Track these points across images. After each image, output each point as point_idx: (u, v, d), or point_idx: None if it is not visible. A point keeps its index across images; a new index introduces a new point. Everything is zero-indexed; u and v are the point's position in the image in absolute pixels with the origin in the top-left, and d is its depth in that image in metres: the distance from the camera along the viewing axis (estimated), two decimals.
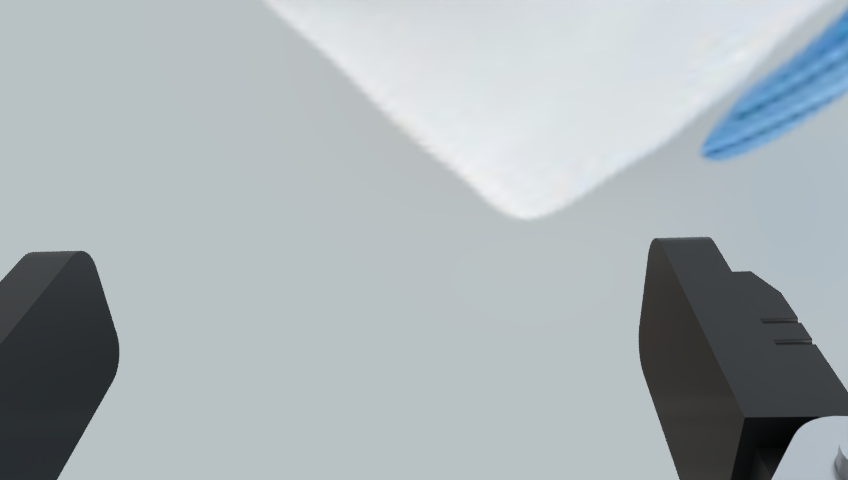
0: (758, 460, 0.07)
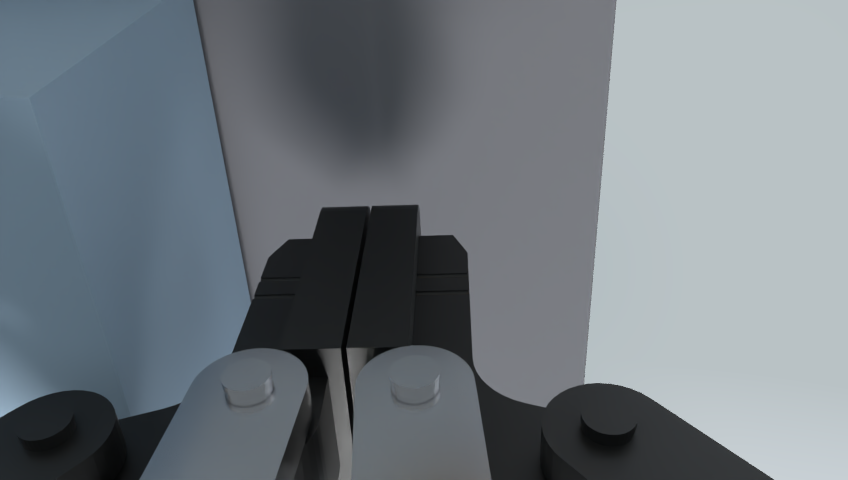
0: None
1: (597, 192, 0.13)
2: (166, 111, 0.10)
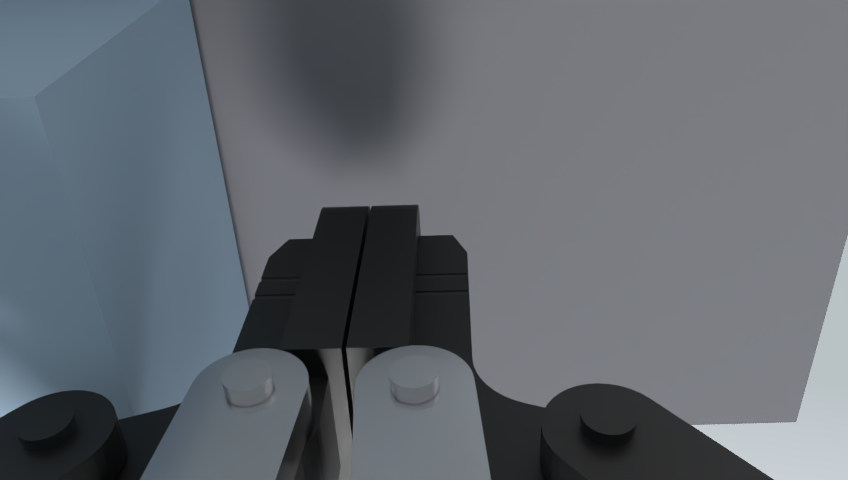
0: None
1: None
2: (165, 111, 0.10)
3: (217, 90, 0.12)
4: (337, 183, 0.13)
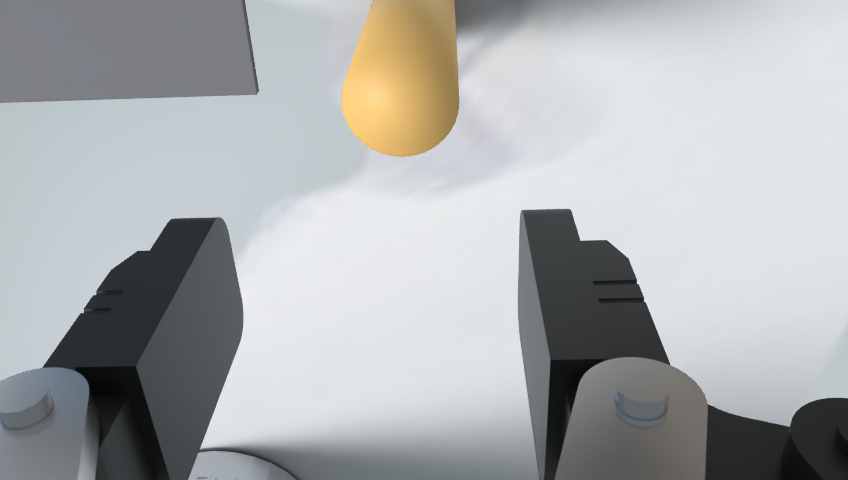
0: (568, 400, 0.08)
1: (114, 97, 0.28)
2: None
3: None
4: None
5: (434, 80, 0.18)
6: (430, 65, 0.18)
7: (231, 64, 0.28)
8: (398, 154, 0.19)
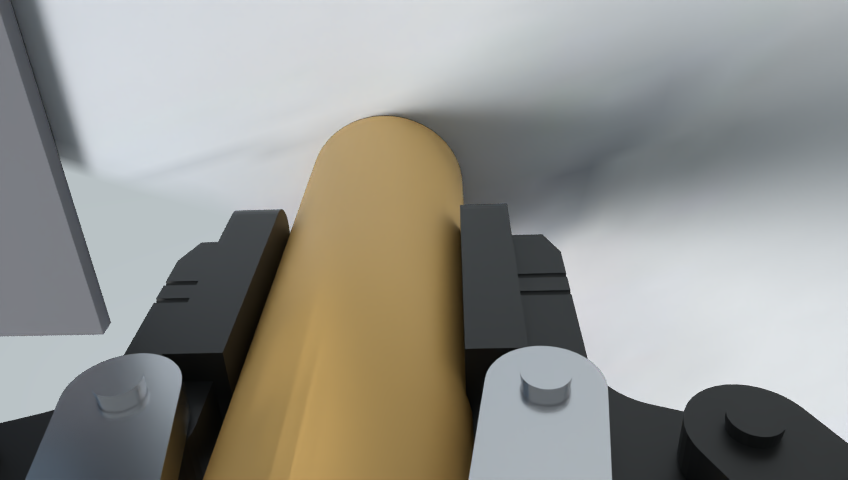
0: None
1: None
2: None
3: None
4: None
5: None
6: None
7: (51, 288, 0.15)
8: None
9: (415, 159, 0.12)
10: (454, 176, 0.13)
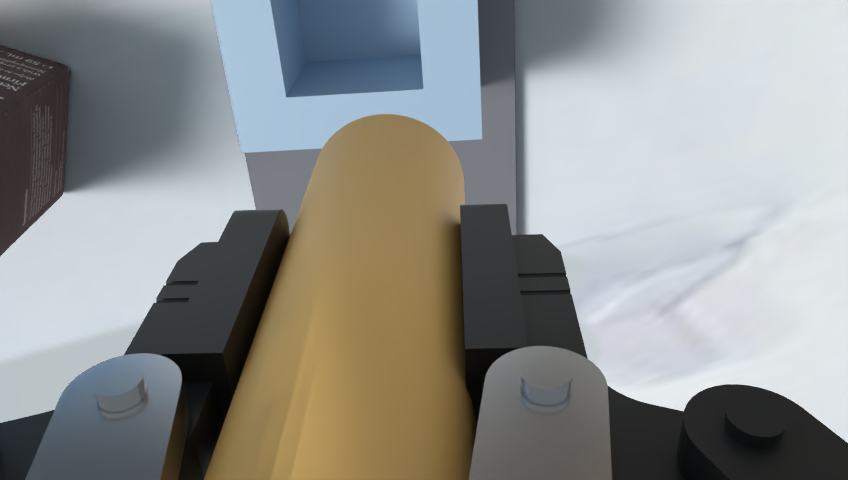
0: None
1: None
2: None
3: None
4: None
5: None
6: None
7: None
8: None
9: (417, 157, 0.12)
10: (456, 174, 0.13)
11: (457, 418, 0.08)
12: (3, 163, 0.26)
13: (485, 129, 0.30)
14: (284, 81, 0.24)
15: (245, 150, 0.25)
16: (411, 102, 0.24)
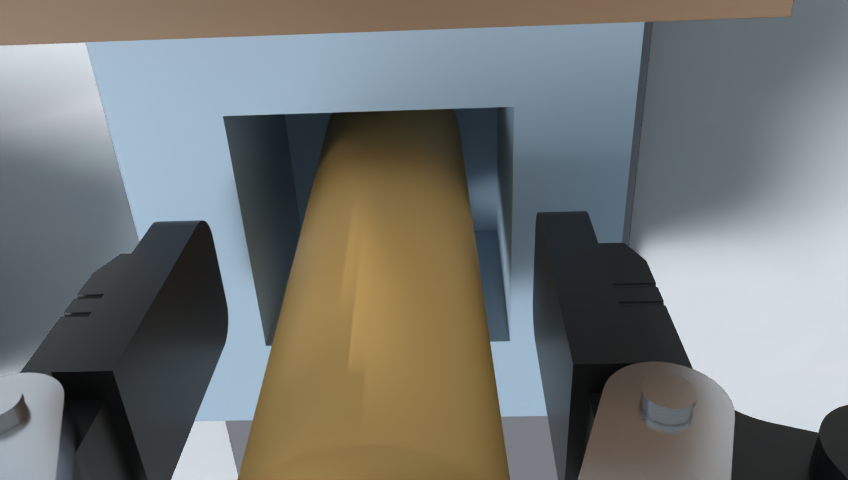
0: (591, 404, 0.08)
1: None
2: None
3: None
4: None
5: None
6: None
7: None
8: None
9: (422, 110, 0.14)
10: (455, 127, 0.15)
11: (474, 299, 0.10)
12: None
13: None
14: (263, 319, 0.14)
15: (195, 418, 0.15)
16: None
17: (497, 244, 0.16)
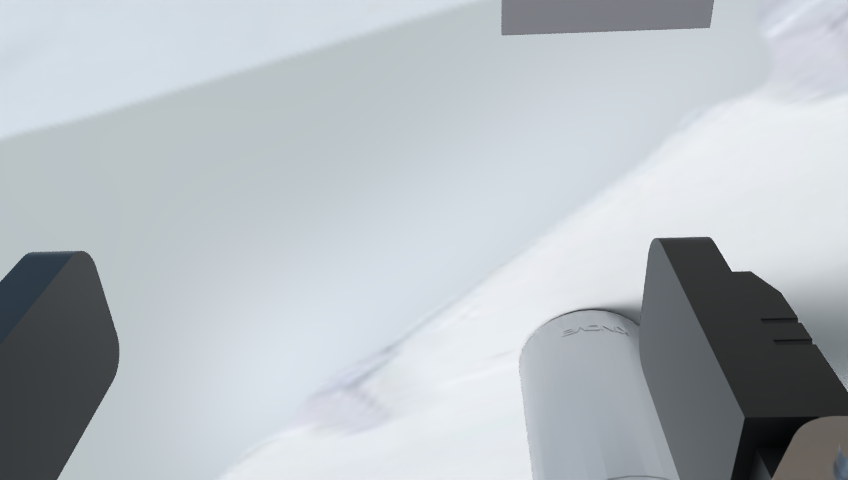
0: (757, 460, 0.07)
1: (608, 30, 0.40)
2: None
3: None
4: None
5: None
6: None
7: (698, 6, 0.40)
8: None
9: None
10: None
11: None
12: None
13: None
14: None
15: None
16: None
17: None
